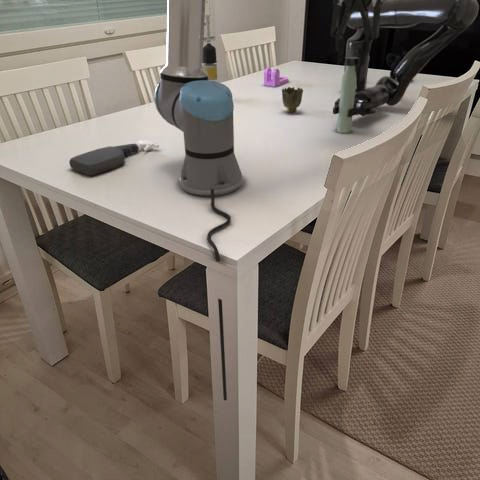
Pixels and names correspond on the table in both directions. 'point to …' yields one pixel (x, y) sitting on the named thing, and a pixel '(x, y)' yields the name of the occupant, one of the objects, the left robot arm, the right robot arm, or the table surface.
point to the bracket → (273, 78)
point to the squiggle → (394, 65)
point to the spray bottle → (106, 157)
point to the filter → (209, 56)
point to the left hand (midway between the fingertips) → (350, 63)
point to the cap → (351, 61)
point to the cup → (292, 98)
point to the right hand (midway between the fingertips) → (341, 112)
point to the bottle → (346, 99)
